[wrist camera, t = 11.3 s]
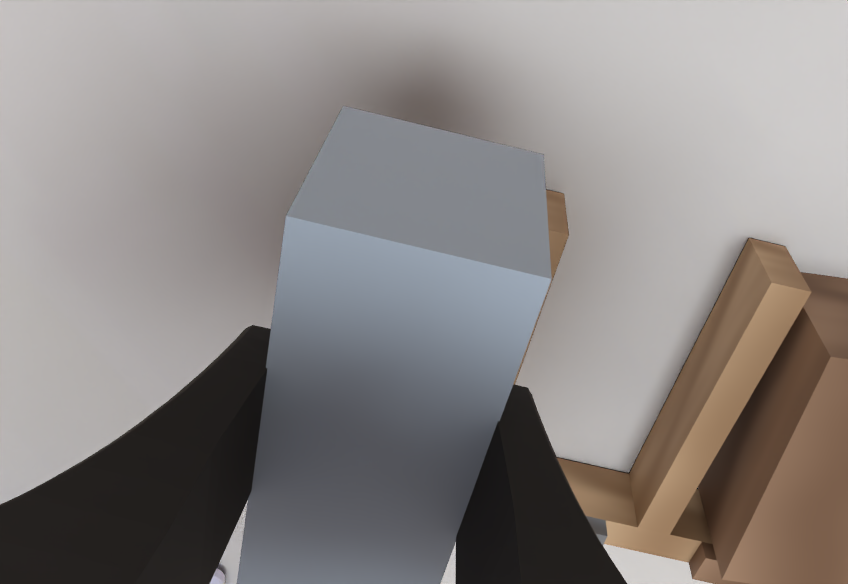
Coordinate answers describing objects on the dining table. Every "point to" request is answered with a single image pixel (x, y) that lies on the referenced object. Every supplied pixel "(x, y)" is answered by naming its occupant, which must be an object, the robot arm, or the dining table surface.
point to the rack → (690, 410)
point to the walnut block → (789, 458)
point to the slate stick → (391, 349)
